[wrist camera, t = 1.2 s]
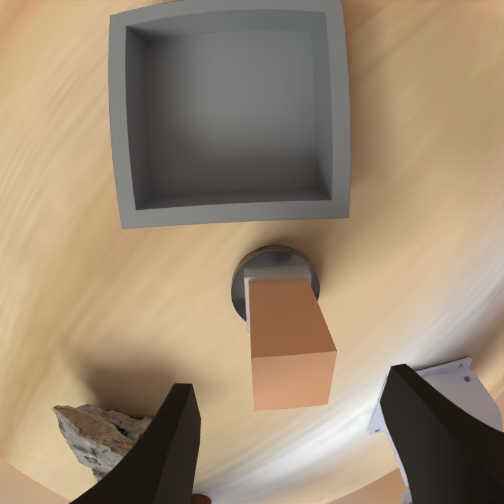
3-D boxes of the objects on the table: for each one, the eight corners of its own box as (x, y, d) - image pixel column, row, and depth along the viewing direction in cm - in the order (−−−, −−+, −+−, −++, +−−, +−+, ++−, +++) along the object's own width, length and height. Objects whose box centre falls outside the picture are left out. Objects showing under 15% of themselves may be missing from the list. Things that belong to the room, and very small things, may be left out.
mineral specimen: (135, 398, 29) (155, 361, 23) (175, 461, 25) (209, 446, 20) (57, 425, 22) (46, 396, 16) (96, 496, 18) (99, 499, 13)
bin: (321, 24, 13) (341, 0, 9) (327, 200, 16) (348, 218, 13) (135, 35, 12) (110, 15, 9) (145, 209, 16) (122, 229, 13)
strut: (306, 264, 17) (342, 345, 10) (304, 316, 18) (331, 406, 11) (244, 267, 17) (245, 353, 10) (247, 320, 18) (249, 413, 11)
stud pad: (317, 243, 17) (321, 250, 16) (313, 317, 19) (316, 326, 18) (228, 247, 17) (228, 254, 16) (234, 322, 19) (234, 331, 18)
